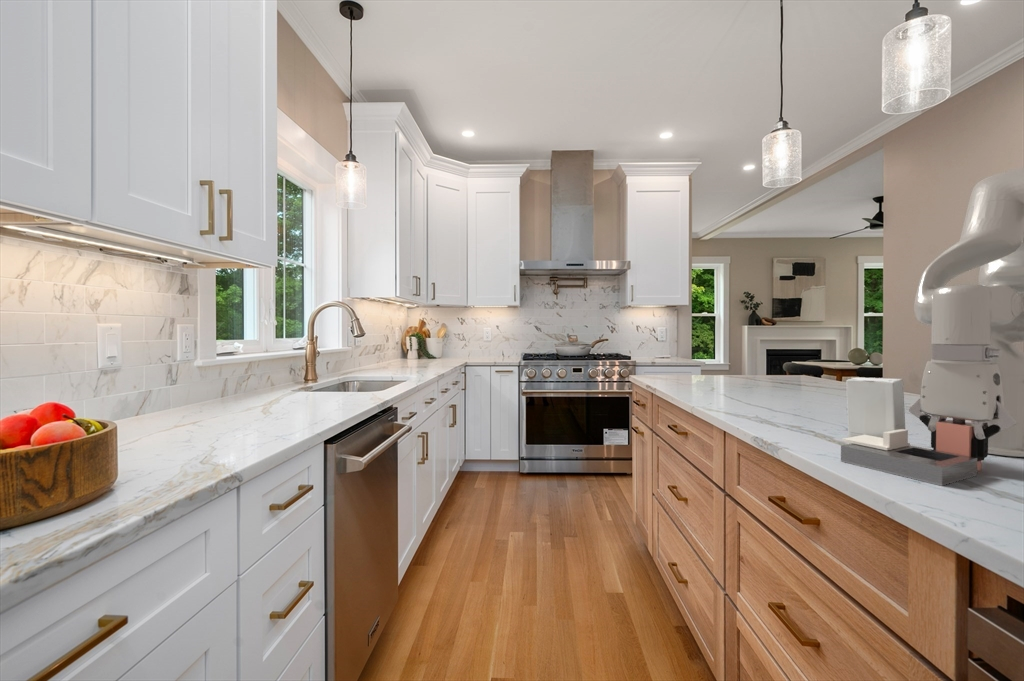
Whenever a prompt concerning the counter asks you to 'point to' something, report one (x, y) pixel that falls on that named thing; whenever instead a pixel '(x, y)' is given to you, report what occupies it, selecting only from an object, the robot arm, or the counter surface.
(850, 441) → the cream stepped block
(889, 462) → the socket
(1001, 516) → the counter surface
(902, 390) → the skincare box
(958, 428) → the plug
